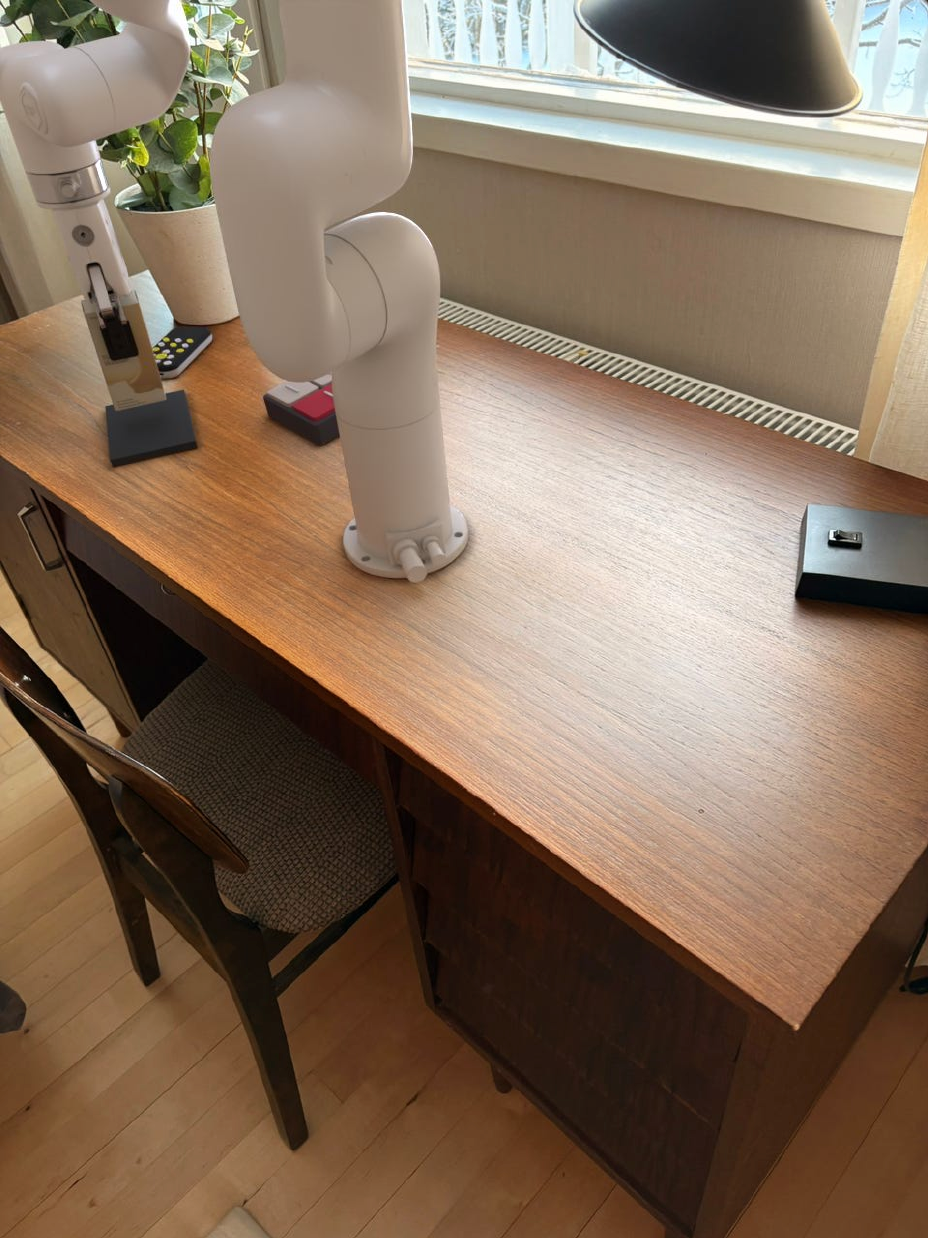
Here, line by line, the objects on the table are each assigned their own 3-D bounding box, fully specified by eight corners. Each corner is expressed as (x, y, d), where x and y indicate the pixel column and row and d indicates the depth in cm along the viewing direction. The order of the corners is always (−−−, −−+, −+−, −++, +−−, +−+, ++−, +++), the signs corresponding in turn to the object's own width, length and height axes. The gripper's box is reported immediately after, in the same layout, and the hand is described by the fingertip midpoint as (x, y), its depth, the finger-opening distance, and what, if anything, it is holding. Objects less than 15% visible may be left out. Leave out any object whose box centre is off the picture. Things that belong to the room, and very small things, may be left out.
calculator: (259, 390, 114) (354, 340, 121) (268, 421, 117) (360, 370, 124) (313, 419, 108) (410, 365, 115) (321, 451, 111) (415, 396, 118)
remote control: (216, 338, 135) (213, 325, 134) (175, 380, 126) (171, 366, 125) (178, 336, 136) (174, 323, 135) (134, 378, 127) (130, 364, 126)
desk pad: (198, 447, 112) (195, 440, 112) (112, 467, 110) (110, 459, 110) (185, 395, 122) (183, 389, 122) (107, 412, 121) (105, 405, 120)
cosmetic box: (115, 413, 111) (80, 314, 103) (111, 397, 114) (77, 299, 106) (170, 399, 113) (139, 301, 105) (164, 384, 116) (134, 287, 108)
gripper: (110, 200, 92) (162, 372, 104) (103, 155, 104) (151, 313, 116) (30, 213, 90) (93, 386, 102) (32, 166, 103) (88, 326, 115)
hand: (123, 346), depth 109 cm, fingers closed on cosmetic box, 4 cm apart
